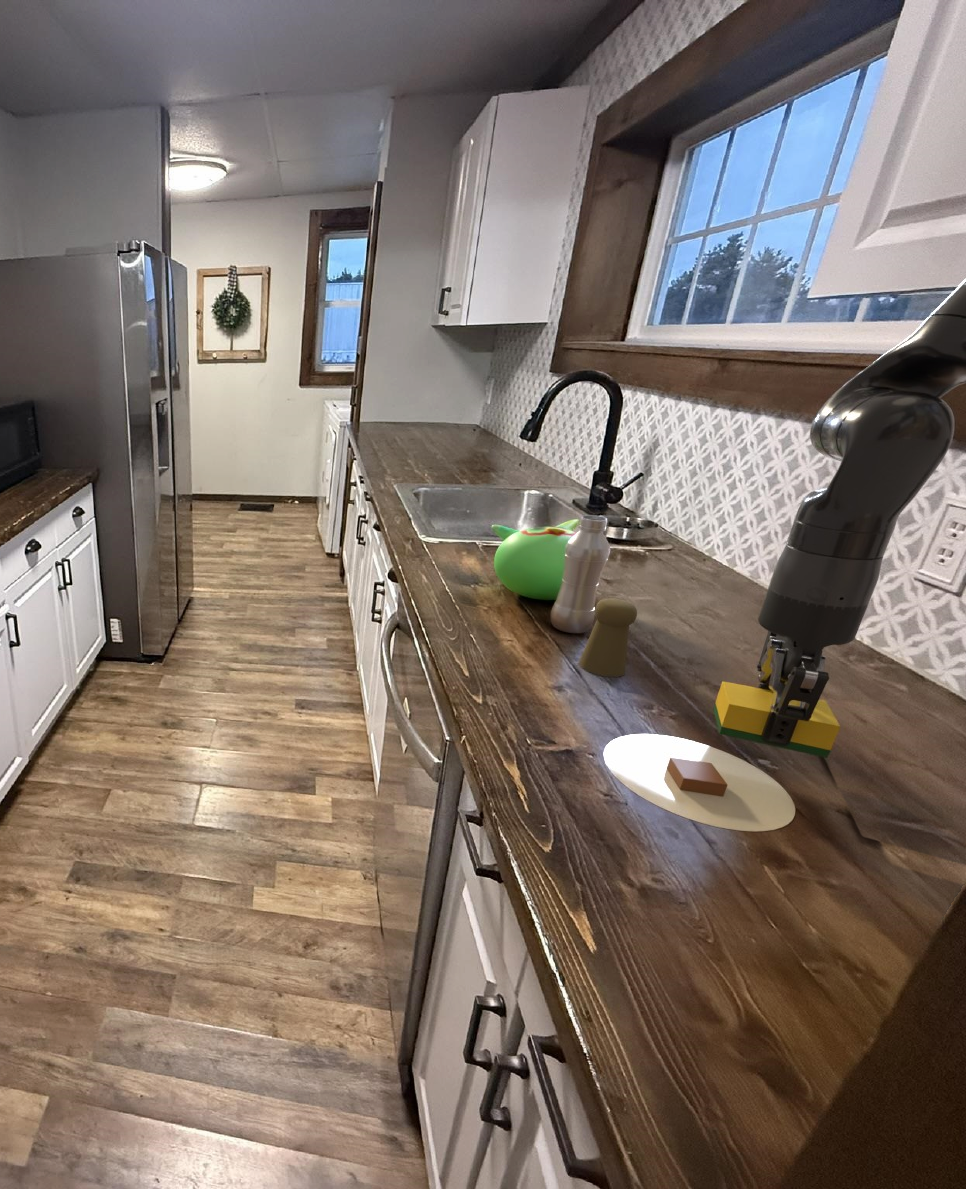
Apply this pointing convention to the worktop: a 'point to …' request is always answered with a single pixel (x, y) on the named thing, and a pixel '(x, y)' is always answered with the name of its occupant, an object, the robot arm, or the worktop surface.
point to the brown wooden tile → (696, 776)
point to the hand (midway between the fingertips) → (768, 727)
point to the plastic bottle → (581, 576)
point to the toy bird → (533, 559)
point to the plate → (742, 807)
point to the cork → (609, 638)
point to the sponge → (748, 712)
